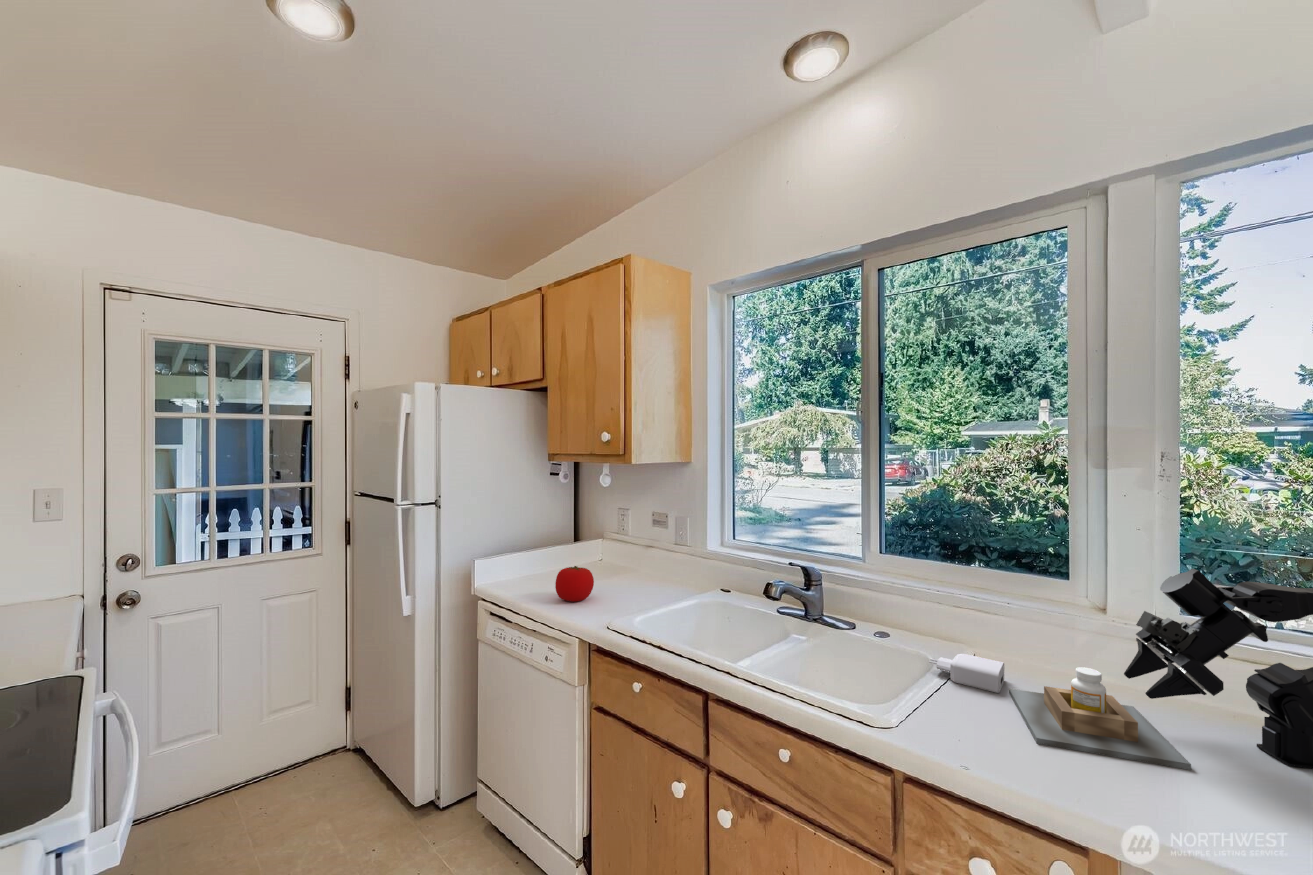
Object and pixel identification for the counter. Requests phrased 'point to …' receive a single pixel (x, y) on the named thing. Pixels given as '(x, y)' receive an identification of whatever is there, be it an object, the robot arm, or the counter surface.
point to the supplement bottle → (1088, 691)
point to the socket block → (1094, 728)
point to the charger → (973, 671)
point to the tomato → (574, 583)
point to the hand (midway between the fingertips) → (1136, 685)
